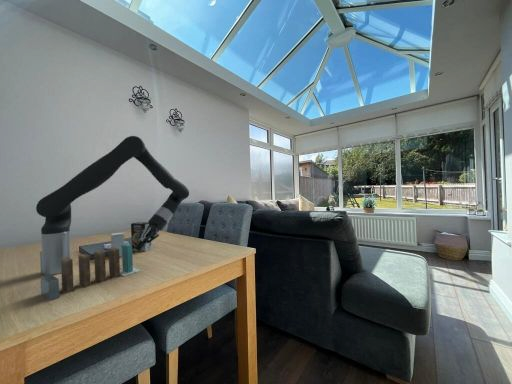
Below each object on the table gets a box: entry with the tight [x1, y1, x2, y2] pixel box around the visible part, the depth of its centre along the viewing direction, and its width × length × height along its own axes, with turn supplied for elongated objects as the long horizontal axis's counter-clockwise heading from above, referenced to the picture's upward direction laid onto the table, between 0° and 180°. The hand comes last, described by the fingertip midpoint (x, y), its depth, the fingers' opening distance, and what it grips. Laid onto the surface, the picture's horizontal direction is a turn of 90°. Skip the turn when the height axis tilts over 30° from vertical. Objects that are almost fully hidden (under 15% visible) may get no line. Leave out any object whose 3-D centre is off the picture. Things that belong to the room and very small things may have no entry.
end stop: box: [40, 274, 60, 301], centre depth 73 cm, size 2×9×6 cm, turn 56°
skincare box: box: [110, 232, 125, 258], centre depth 118 cm, size 6×4×12 cm
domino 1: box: [61, 257, 75, 294], centre depth 77 cm, size 2×5×11 cm, turn 56°
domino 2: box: [77, 253, 92, 288], centre depth 81 cm, size 2×5×11 cm, turn 56°
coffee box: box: [130, 221, 153, 252], centre depth 130 cm, size 9×6×16 cm
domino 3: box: [93, 250, 107, 283], centre depth 85 cm, size 2×5×11 cm, turn 56°
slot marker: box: [120, 267, 142, 277], centre depth 94 cm, size 7×8×1 cm
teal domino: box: [121, 243, 134, 273], centre depth 94 cm, size 2×5×11 cm, turn 56°
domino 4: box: [107, 247, 121, 279], centre depth 89 cm, size 2×5×11 cm, turn 56°
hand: (136, 249), depth 97 cm, fingers closed
